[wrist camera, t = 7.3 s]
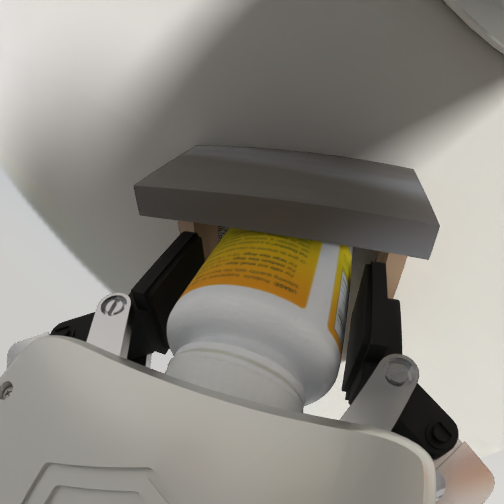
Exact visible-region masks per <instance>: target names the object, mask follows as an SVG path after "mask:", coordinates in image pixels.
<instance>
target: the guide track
mask: <svg viewBox="0 0 504 504" xmlns="http://www.w3.org/2000/svg"><path fill="white" fill-rule="evenodd" d="M134 190H135V195H136V200H137V205H138V210H139V214H140V215H142V216H150V217H157V218H165V219H172V220H178V224H179V230H180V234H181V233H182V232H183V231H189V232H196V233H198V235H199V237H201V238H202V242H203V250H204V257H205V261H206V260H207V258H208V257H209V255H210V254H211V253H212V251H213V250H214V248H215V247H216V246H217V244H218V243H219V231H218V226H223V227H229V228H236V229H243V230H250V231H257V232H263V233H270V234H276V235H283V236H289V237H296V238H302V239H309V240H315V241H321V242H327V243H334V244H340V245H346V246H352V247H358V248H364V249H370V250H376V251H379V252H378V256H377V260H376V262H381V263H385V264H386V273H387V292H388V298H390V299H393V297H394V294H395V291H396V289H397V286H398V283H399V280H400V277H401V274H402V271H403V268H404V265H405V262H406V259H407V256H410V257H416V258H421V259H427V260H429V257H430V255H431V252H432V249H433V246H434V243H435V240H436V237H437V233H438V230H439V227H440V225H439V223H438V221H437V218H436V216H435V214H434V211H433V209H432V207H431V205H430V202H429V200H428V198H427V196H426V194H425V192H424V190H423V187H422V185H421V183H420V181H419V179H418V177H417V175H416V173H415V171H414V169H409V168H404V167H399V166H394V165H389V164H383V163H377V162H371V161H365V160H359V159H352V158H346V157H338V156H331V155H323V154H315V153H306V152H297V151H286V150H275V149H262V148H248V147H230V146H202V145H196V146H195V147H193V148H191V149H190V150H188V151H186V152H185V153H183V154H181V155H180V156H178V157H177V158H175V159H173V160H172V161H170V162H169V163H167V164H165V165H164V166H162V167H161V168H159V169H158V170H156V171H155V172H153V173H152V174H150V175H149V176H147V177H146V178H144V179H143V180H141V181H140V182H138V183H137V184H135V185H134Z"/></svg>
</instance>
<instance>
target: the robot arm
mask: <svg viewBox="0 0 504 504" xmlns="http://www.w3.org/2000/svg"><path fill="white" fill-rule="evenodd" d="M444 2H445V3H446V4H447V5H448V6H449V7H450V8H451V9H452V10H453V11H454V12H455V13H456V14H457V15H458V16H459V17H460V18H461V19H462V20H463V21H464V22H465V23H466V24H467V25H468V26H469V27H470V28H471V29H472V30H474V31H475V32H476V33H477V34H479V35H480V36H481V37H482V38H483V39H484V40H486V41H487V42H488V43H489V44H490V45H491V46H492V47H494V48H495V49H497V50H498V51H499V52H501V53H502V54H504V0H444ZM204 263H205V257H204V250H203V242H202V238H201V237H199V235H198V233H196V232H189V231H183V232H182V233H181V234H180V235H179V237H178V238H177V239H176V240H175V241H174V242H173V243H172V244H171V245H170V246H169V248H168V249H167V250H166V251H165V252H164V253H163V254H162V255H161V256H160V258H159V259H158V260H157V261H156V262H155V263H154V264H153V265H152V267H151V268H150V269H149V270H148V271H147V272H146V273H145V275H144V276H143V277H142V278H141V279H140V280H139V282H138V283H137V284H136V285H135V286H134V287H133V289H132V290H131V293H130V294H129V295H126V294H124V293H112V294H110V295H107V296H106V297H104V298H103V299H102V300H101V301H100V302H99V304H98V306H97V309H96V312H94V313H91V314H87V315H84V316H82V317H78V318H75V319H72V320H68V321H65V322H62V323H60V324H58V325H57V326H56V327H55V328H54V329H53V330H52V332H51V334H49V332H47V333H44V334H41V335H38V336H35V337H32V338H29V339H26V340H23V341H20V342H17V343H16V344H14V345H13V346H12V347H11V348H10V349H9V351H8V355H7V369H6V371H5V372H4V374H3V375H2V376H1V377H0V504H483V503H484V502H485V501H486V500H487V498H488V497H489V496H490V495H491V493H492V491H493V488H494V484H495V481H494V477H493V474H492V473H491V472H490V470H489V469H488V468H487V467H486V465H485V464H484V463H483V462H482V461H481V459H480V458H479V457H478V456H477V455H476V454H475V452H474V451H473V450H472V449H471V448H470V447H469V445H468V444H467V443H466V442H465V441H464V442H463V443H462V442H461V441H460V440H459V439H458V428H457V425H456V424H455V422H454V421H453V420H452V419H451V418H450V417H449V415H448V414H447V413H446V412H445V411H444V410H443V409H442V408H441V407H440V406H439V405H438V404H437V403H436V402H435V401H434V400H433V399H432V398H431V397H430V396H429V395H428V394H427V393H426V392H425V391H424V389H423V388H422V387H421V386H420V385H419V384H418V383H417V382H418V379H419V370H418V367H417V365H416V364H415V362H414V361H413V360H412V359H410V358H409V357H407V356H405V355H402V331H401V312H400V302H399V300H396V299H390V298H388V292H387V273H386V264H385V263H381V262H375V261H372V262H371V264H366V265H365V269H364V273H363V277H362V280H361V284H360V288H359V292H358V296H357V299H356V303H355V306H354V310H353V313H352V318H351V325H350V334H349V342H348V350H347V358H346V365H345V372H344V378H343V384H342V391H344V392H346V398H345V400H349V404H350V407H349V408H348V409H347V411H346V412H345V413H344V415H343V416H342V417H341V419H340V420H335V419H329V418H324V417H319V416H314V415H309V414H304V413H299V412H295V411H290V410H285V409H281V408H277V407H272V406H268V405H264V404H260V403H256V402H253V401H249V400H245V399H242V398H238V397H234V396H231V395H227V394H224V393H221V392H217V391H214V390H211V389H208V388H204V387H201V386H198V385H195V384H192V383H189V382H186V381H183V380H180V379H178V378H175V377H172V376H169V375H166V374H164V373H161V372H158V371H156V370H153V369H150V364H151V354H152V353H153V352H154V351H157V352H159V353H162V354H166V353H167V351H168V349H170V347H169V344H168V339H167V322H168V318H169V315H170V313H171V311H172V309H173V308H174V306H175V304H176V303H177V301H178V300H179V298H180V297H181V295H182V294H183V293H184V291H185V290H186V288H187V287H188V285H189V284H190V283H191V281H192V280H193V278H194V277H195V275H196V274H197V272H198V271H199V270H200V268H201V267H202V265H203V264H204Z"/></svg>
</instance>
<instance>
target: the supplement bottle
mask: <svg viewBox="0 0 504 504" xmlns="http://www.w3.org/2000/svg"><path fill="white" fill-rule="evenodd" d="M352 251H353V247H352V246H346V245H340V244H334V243H327V242H321V241H315V240H309V239H302V238H296V237H289V236H283V235H276V234H270V233H263V232H257V231H250V230H243V229H236V228H229V229H228V230H227V232H226V233H225V235H224V236H223V237H222V239H221V240H220V242H219V243H218V244H217V246H216V247H215V248H214V250H213V251H212V253H211V254H210V255H209V257H208V258H207V260H206V261H205V263H204V264H203V265H202V267H201V268H200V270H199V271H198V272H197V274H196V275H195V277H194V278H193V280H192V281H191V283H190V284H189V285H188V287H187V288H186V290H185V291H184V293H183V294H182V295H181V297H180V298H179V300H178V301H177V303H176V304H175V306H174V308H173V309H172V311H171V313H170V315H169V318H168V322H167V339H168V344H169V347H170V349H171V351H172V353H173V355H174V357H173V358H172V359H171V360H170V362H169V364H168V368H167V370H166V372H165V374H166V375H169V376H172V377H175V378H178V379H180V380H183V381H186V382H189V383H192V384H195V385H198V386H201V387H204V388H208V389H211V390H214V391H217V392H221V393H224V394H227V395H231V396H234V397H238V398H242V399H245V400H249V401H253V402H256V403H260V404H264V405H268V406H272V407H277V408H281V409H285V410H290V411H295V412H299V413H303V407H304V406H306V405H309V404H311V403H313V402H315V401H317V400H319V399H320V398H322V397H323V396H324V395H325V394H326V393H327V392H328V391H329V390H330V389H331V387H332V386H333V385H334V383H335V381H336V378H337V376H338V371H339V367H340V362H341V354H342V348H343V341H344V334H345V326H346V318H347V310H348V301H349V291H350V280H351V266H352Z"/></svg>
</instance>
